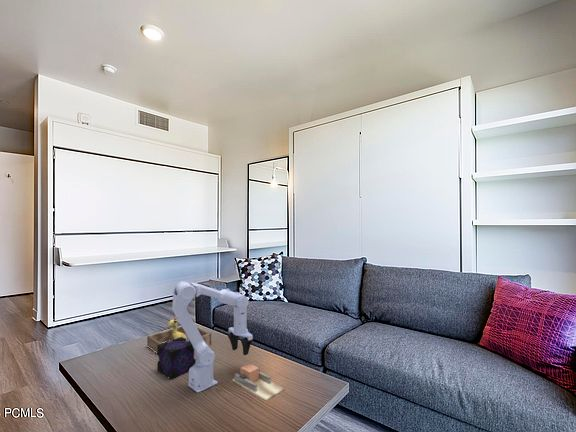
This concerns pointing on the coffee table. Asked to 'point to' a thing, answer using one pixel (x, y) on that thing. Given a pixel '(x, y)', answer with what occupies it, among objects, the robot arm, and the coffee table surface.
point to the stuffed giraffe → (175, 330)
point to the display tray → (167, 335)
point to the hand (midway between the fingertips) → (240, 352)
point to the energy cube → (175, 357)
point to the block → (250, 372)
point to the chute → (259, 385)
